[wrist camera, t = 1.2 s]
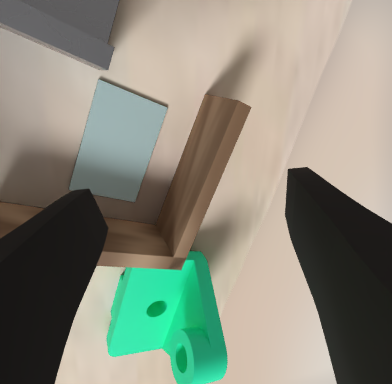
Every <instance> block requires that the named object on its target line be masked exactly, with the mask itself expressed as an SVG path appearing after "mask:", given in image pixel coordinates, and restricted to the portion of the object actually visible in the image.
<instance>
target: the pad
mask: <svg viewBox="0 0 392 384" xmlns="http://www.w3.org/2000/svg"><path fill="white" fill-rule="evenodd" d="M166 111H167V107H164V106H162V105H160V104H157V103H155V102H152V101H150V100H148V99H145V98H143V97H140V96H138V95H135V94H133V93H131V92H128V91H126V90H123V89H121V88H119V87H116V86H114V85H111V84H109V83H107V82H104V81H102V80H99V79H98V83H97V87H96V90H95V94H94V98H93V101H92V105H91V109H90V112H89V116H88V120H87V123H86V127H85V131H84V134H83V138H82V142H81V145H80V149H79V153H78V156H77V160H76V164H75V168H74V171H73V175H72V179H71V182H70V186H69V190H72V191H74V190H80V189H90V191H91V193H92V194H94V195H99V196H104V197H109V198H115V199H120V200H125V201H131V202H135V200H136V197H137V195H138V192H139V189H140V186H141V183H142V180H143V177H144V174H145V172H146V169H147V166H148V163H149V160H150V157H151V154H152V151H153V149H154V146H155V143H156V140H157V137H158V134H159V131H160V128H161V126H162V123H163V120H164V117H165V114H166Z"/></svg>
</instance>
